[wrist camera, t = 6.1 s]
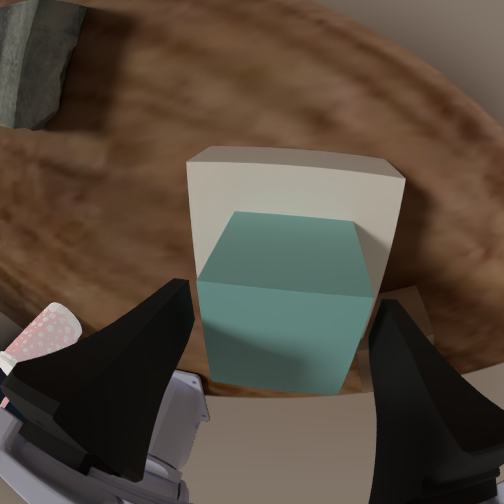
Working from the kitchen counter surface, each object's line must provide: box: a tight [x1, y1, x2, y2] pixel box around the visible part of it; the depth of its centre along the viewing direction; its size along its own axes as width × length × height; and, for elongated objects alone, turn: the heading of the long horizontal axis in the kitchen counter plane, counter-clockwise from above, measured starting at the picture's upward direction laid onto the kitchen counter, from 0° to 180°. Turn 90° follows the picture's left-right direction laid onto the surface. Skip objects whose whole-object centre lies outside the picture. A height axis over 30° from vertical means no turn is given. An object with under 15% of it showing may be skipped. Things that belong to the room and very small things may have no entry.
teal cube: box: [196, 211, 374, 395], centre depth 11 cm, size 5×5×5 cm
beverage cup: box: [0, 303, 82, 408], centre depth 20 cm, size 6×6×14 cm
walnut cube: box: [356, 285, 435, 393], centre depth 17 cm, size 4×4×4 cm
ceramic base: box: [186, 146, 406, 339], centre depth 15 cm, size 9×9×4 cm
